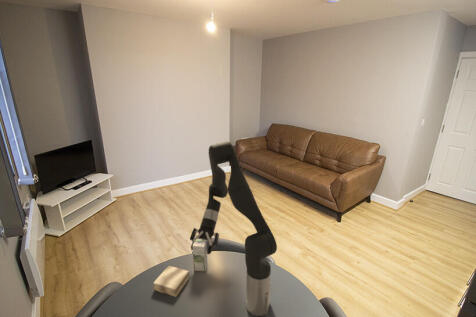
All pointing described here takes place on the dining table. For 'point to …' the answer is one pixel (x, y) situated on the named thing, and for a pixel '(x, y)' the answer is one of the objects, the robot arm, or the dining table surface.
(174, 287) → the birch stand
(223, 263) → the dining table surface
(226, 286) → the dining table surface
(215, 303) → the dining table surface
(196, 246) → the syrup box
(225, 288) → the dining table surface
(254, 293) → the robot arm
